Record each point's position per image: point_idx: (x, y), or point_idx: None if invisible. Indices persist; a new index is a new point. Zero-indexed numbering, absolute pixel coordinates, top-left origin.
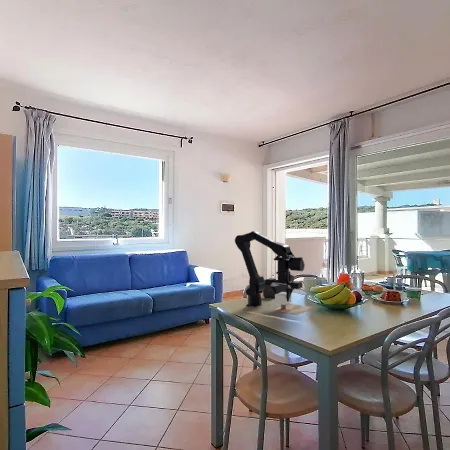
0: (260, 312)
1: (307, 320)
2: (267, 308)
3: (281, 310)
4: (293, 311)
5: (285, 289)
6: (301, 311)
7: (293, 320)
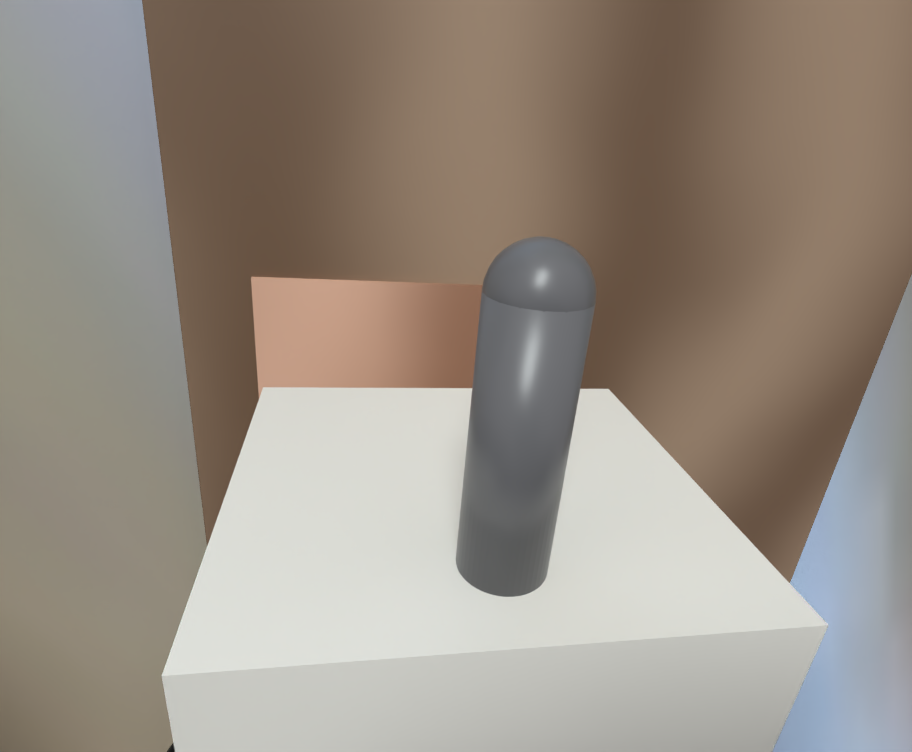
0: None
1: (884, 656)
2: (16, 520)
3: None
4: None
5: None
6: (800, 427)
7: None
